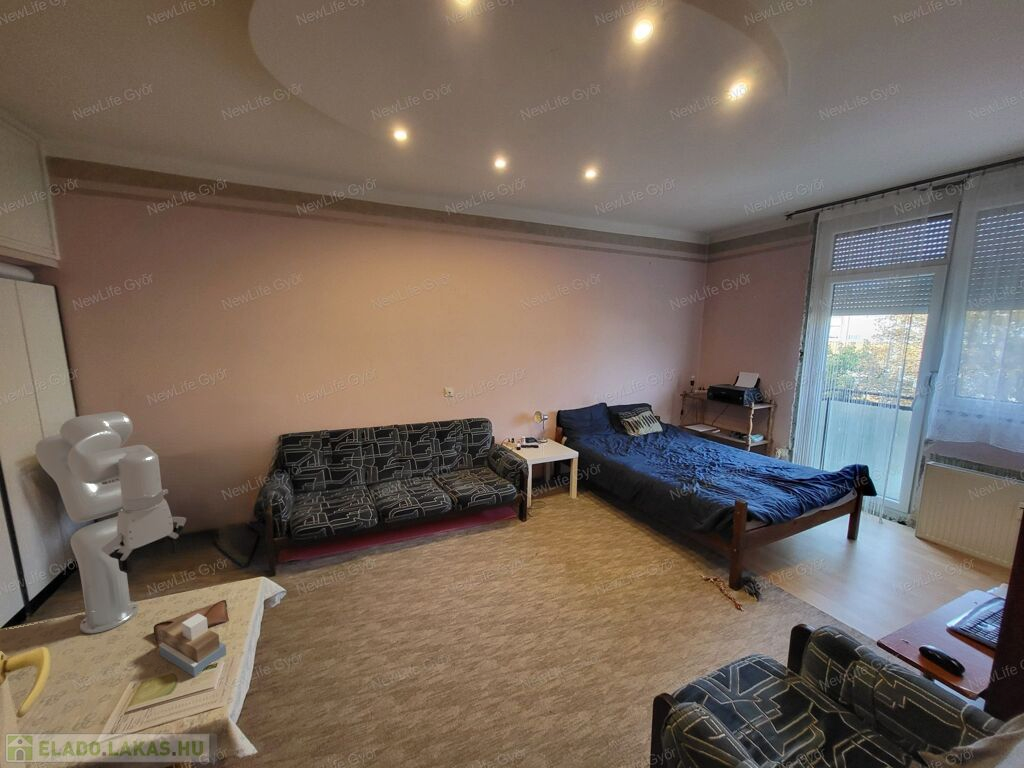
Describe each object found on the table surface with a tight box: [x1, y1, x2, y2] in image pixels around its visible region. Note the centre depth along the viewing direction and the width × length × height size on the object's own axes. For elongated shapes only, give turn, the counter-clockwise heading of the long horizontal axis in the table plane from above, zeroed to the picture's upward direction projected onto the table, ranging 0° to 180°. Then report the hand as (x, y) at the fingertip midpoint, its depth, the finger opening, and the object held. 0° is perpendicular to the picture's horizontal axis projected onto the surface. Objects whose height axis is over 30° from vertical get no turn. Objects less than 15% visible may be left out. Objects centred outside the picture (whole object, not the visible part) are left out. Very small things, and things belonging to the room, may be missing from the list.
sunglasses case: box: [153, 599, 230, 650], centre depth 121 cm, size 18×7×7 cm, turn 133°
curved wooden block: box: [162, 616, 220, 662], centre depth 111 cm, size 16×6×4 cm, turn 67°
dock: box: [158, 641, 227, 677], centre depth 111 cm, size 16×8×3 cm, turn 67°
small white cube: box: [182, 613, 209, 641], centre depth 110 cm, size 4×4×4 cm
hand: (150, 561), depth 104 cm, fingers open, 9 cm apart
